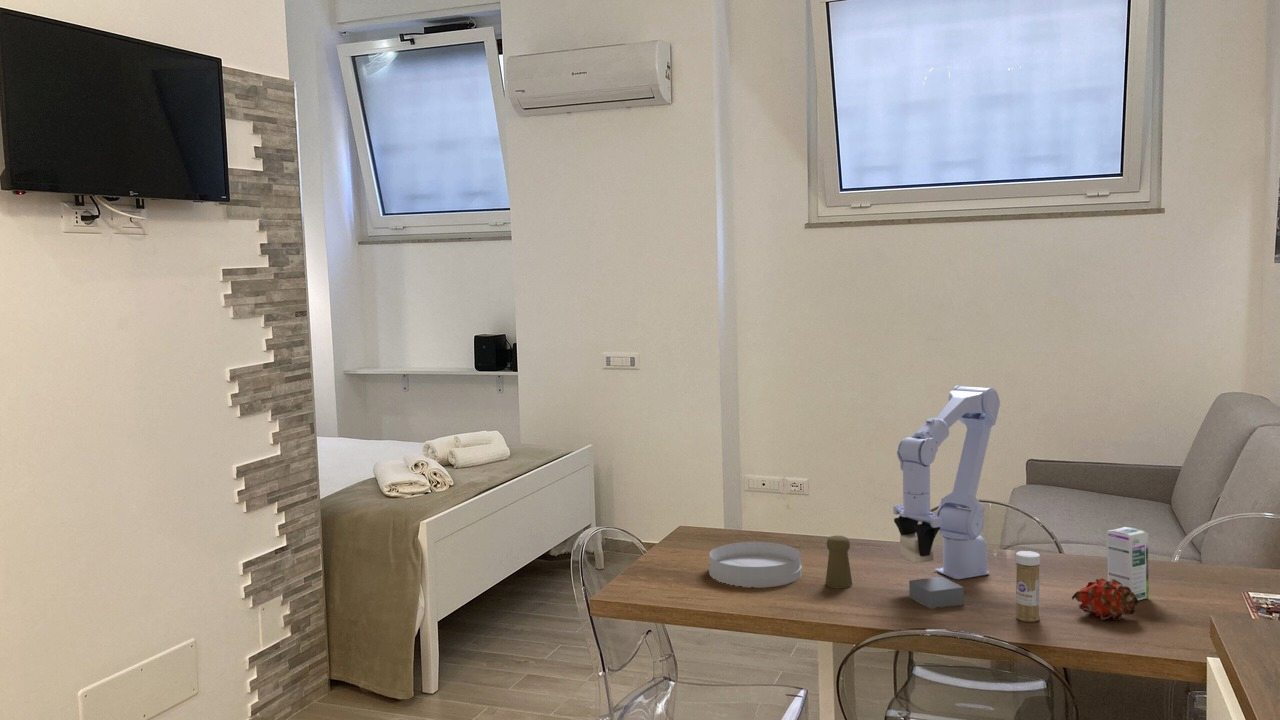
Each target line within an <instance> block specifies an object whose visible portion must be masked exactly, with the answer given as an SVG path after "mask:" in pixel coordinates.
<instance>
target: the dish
mask: <svg viewBox="0 0 1280 720" xmlns="http://www.w3.org/2000/svg"><path fill="white" fill-rule="evenodd" d="M801 555H802V554H801V552H800V551H799V550H798V549H796V548H795V547H792V546H790V545H786V544H781V543H776V542H766V541H744V542H733V543H728V544H723V545H719V546H717V547H715V548H713V549H711V550H710V552H709V563H708V573H709V575H710V576H711V577H712V578H713V579H712V578H711V577H710V576H709V577H710V578H711V579H712V580H714V579H716V580H718V581H719V582H718V581H717V582H718V583H720V582H722V583H721V584H723V583H726V584H725V585H727V584H730V585H729V586H732V585H735V586H734V587H738V586H742V587H741V588H751V587H754V588H759V589H760V588H772V587H780V586H784V585H789V584H791V583H794V582H796V581H797V580H799V579H801V576H803V565H802V561H801V560H802V558H801V557H802V556H801ZM716 580H715V581H716ZM754 588H753V589H754Z"/></svg>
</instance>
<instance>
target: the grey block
mask: <svg viewBox="0 0 1280 720" xmlns="http://www.w3.org/2000/svg"><path fill="white" fill-rule="evenodd" d="M908 583H909V585H908V586H909V589H908V590H909V591H908V592H909V598H910V597H911V598H910V599H912V600H913V599H914V601H915V600H916V601H915V602H917V603H919V604H921V603H922V604H923V605H922V604H921V605H922V606H924V605H925V606H924V607H926V606H927V607H926V608H928V607H929V608H928V609H930V608H933V609H936V608H935V607H940V608H945V607H944V606H948V607H953V606H954V607H955V606H962V604H963V605H964V586H962V585H960V584H958V583H957V582H956V583H955V582H954V581H951V580H950V579H948V578H946V577H944V576H941V575H940V576H936V577H935V576H934V577H927V578H918V579H912V580H909V581H908Z"/></svg>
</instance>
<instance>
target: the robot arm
mask: <svg viewBox="0 0 1280 720" xmlns="http://www.w3.org/2000/svg"><path fill="white" fill-rule="evenodd" d="M1000 406H1001V399H1000V397H999V393H998V392H997V390H996V389H995V387H979V386H977V387H976V386H963V385H955V386H954V387H953V389H951V391H949V393H948V402H947V404H946V405H945V406H944V407H943V409H942V410H941V411H940V413H939V414H938V415H937V417H929V418H926V420H925V422H924V423H923V424H922V425H921V426H920V427H919V428H918V429H917V431H915V432H914V433H913V435H912V436H911V437H909V436H908V437H905V438H904V439H902V440H900V442H899V443H898V447H897V450H896V455H897V459H898V460H899V463H900V464H899V465H900V470H901V471H902V501H903V503H902V504H895V505H893V507H892V508H893V511H892V512H893V514H894V515H898V517H894V518H893V521H894V523H895V525H896V527H897V528H898V532H899V534H900V535H907V534H915V533H916V534H917V537H918V544H919V553H920V556H929V555H930V552H931V548H932V544H933V545H934V542H935V541H934V540H935V538H936V536H937V534H938V533H939V535H940V536H942V544H943V545H942V561H943V562H942V564H943V566H942V567H939V568H938V567H937V568H935V569H934V571H935V572H937V573H939V574H941V575H945V576H947V577H949V578H952V579H954V580H963V579H968V578H969V579H971V578H974V577H975V578H976V577H980V576H986V575H990V572H989V571H988V555H987V554H988V548H987V542H986V541H985V538H984V537H983V536H982V535H981V534H982V532H983V531H984V526H985V519H984V516H985V510H986V509H985V507H984V505H983V504H982V503H981V502H980V501H979V499H977V497H976V496H977V492H978V488H979V484H980V480H981V475H982V470H983V466H984V461H985V459H986V458H985V457H986V453H987V447H988V444H989V440H990V436H991V431H992V427H994V426H995V425H996V422H997V419H998V415H999V409H1000ZM958 421H959V422H960V423H962V424H964V425H965V427H966V434H965V438H964V441H963V445H962V450H961V455H960V460H959V463H958V467H957V472H956V475H955V476H956V477H955V481H954V485H953V487H952V488H953V489H952V492H950V493H948V494H947V495H945V496H944V497H942V498H941V499H940V503H939V506H938V508H937V509H936V511H935V513H933V512H932V510H931V467H930V466H931V464H933V463H934V461H935V458H936V454H937V453H938V450H939V449H938V448H939V447H940V446H941V445H942V444H943V442H944V441H945V440H946V439H947V438H948V437H949V435H950V429H949V428H951V427H952V426H953V425H954V424H956V423H957V422H958ZM919 522H920V523H919Z"/></svg>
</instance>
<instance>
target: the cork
mask: <svg viewBox="0 0 1280 720" xmlns="http://www.w3.org/2000/svg"><path fill="white" fill-rule="evenodd" d="M850 547H851V542H850V540H849V538H848V537H847V536H843V535H832V536H829V537H828V538H827V540H826V548H827V550H828V557H827V558H828V559H827V568H826V576H825V583H826V584H825V585H826V586H827V585H828V586H827V587H830V588H836V589H845V588H846V587H847V588H850V587H852V586H853V580H852V573H851V567H850V560H849V553H848V551H849V550H850Z"/></svg>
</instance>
